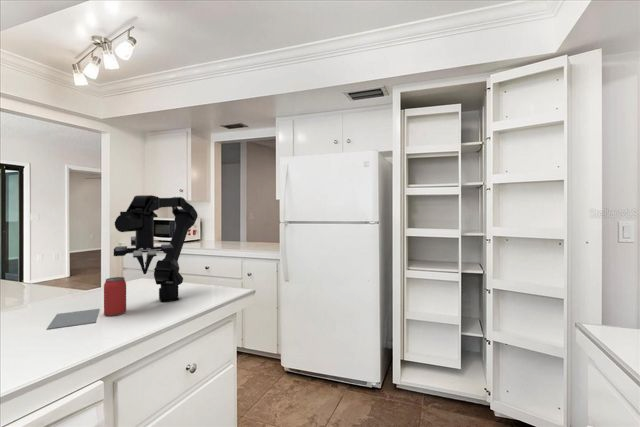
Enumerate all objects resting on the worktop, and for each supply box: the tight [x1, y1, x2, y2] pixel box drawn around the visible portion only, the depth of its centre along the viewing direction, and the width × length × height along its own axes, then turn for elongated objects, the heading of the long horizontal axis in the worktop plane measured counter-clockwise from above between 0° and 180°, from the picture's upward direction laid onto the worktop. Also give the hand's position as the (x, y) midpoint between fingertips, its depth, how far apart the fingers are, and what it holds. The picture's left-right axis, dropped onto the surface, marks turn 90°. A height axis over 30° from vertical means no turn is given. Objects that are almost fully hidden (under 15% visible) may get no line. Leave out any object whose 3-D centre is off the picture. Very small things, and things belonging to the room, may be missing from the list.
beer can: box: [103, 276, 127, 317], centre depth 112 cm, size 7×7×12 cm
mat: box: [46, 308, 101, 331], centre depth 107 cm, size 12×16×1 cm
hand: (144, 273), depth 117 cm, fingers closed
